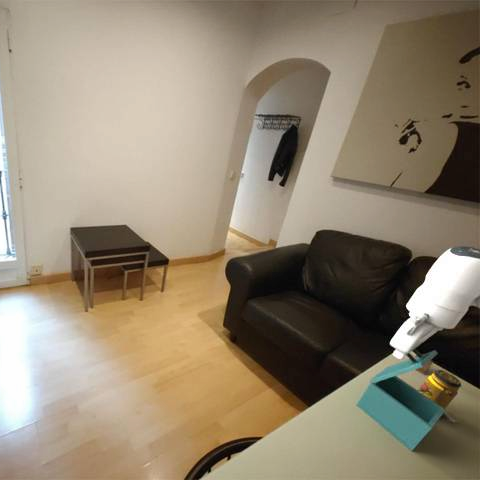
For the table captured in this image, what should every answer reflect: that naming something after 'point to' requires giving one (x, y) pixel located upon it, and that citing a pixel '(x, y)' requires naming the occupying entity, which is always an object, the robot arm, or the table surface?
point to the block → (425, 368)
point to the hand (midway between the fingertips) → (402, 353)
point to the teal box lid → (405, 365)
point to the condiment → (441, 390)
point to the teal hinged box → (400, 410)
